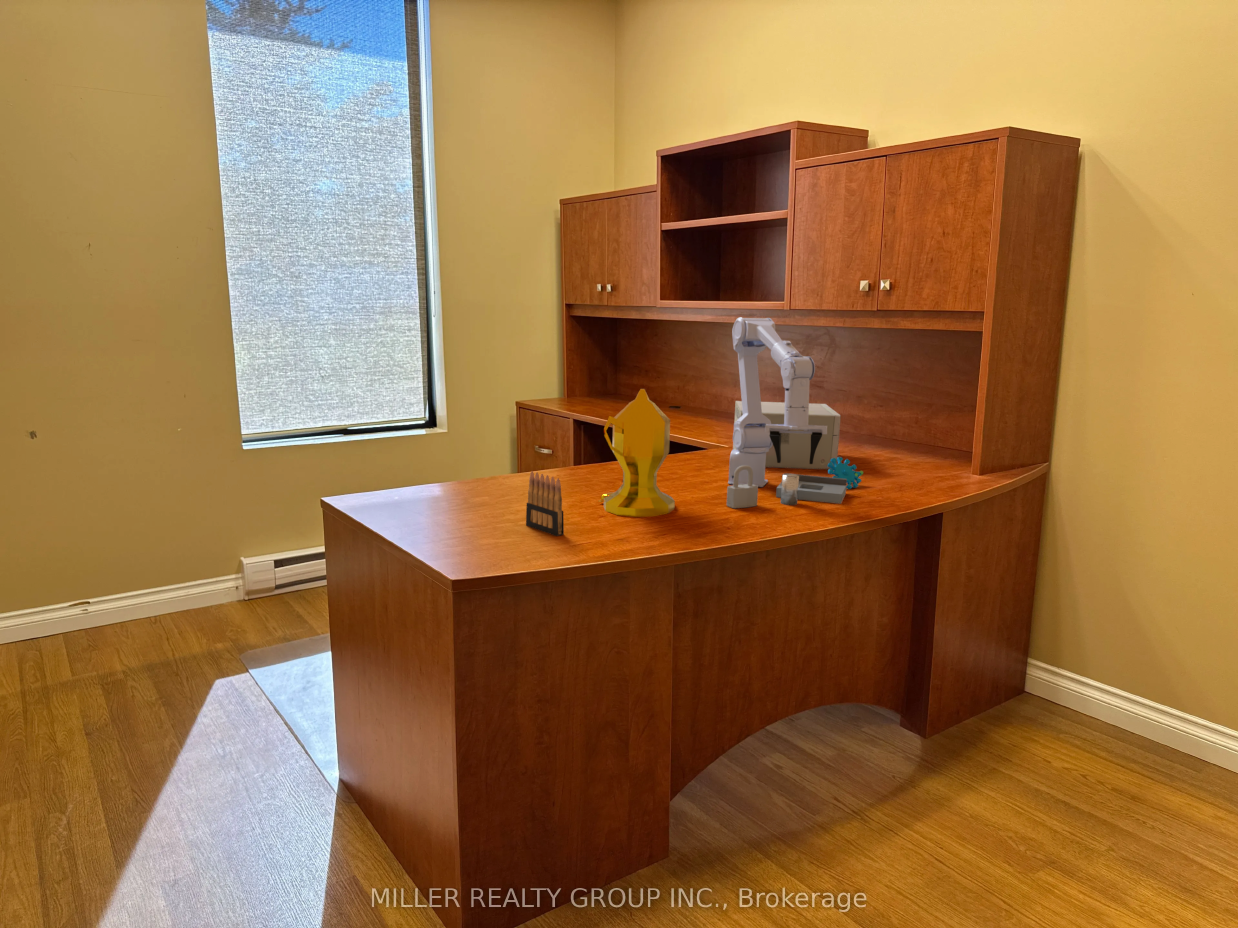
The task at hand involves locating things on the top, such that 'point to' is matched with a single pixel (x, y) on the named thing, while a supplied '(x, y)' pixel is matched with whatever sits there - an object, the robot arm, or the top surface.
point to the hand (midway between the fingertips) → (795, 463)
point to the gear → (845, 472)
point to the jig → (819, 489)
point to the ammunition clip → (545, 505)
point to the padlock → (742, 491)
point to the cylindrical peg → (789, 489)
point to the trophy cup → (639, 459)
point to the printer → (801, 437)
